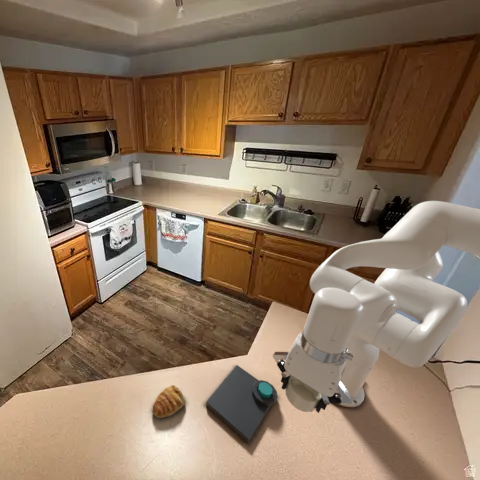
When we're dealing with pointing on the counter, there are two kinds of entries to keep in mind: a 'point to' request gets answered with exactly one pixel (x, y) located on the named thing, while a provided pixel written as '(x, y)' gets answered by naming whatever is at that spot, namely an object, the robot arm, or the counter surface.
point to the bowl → (302, 395)
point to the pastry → (168, 402)
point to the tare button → (265, 390)
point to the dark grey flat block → (241, 402)
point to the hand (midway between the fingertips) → (301, 395)
